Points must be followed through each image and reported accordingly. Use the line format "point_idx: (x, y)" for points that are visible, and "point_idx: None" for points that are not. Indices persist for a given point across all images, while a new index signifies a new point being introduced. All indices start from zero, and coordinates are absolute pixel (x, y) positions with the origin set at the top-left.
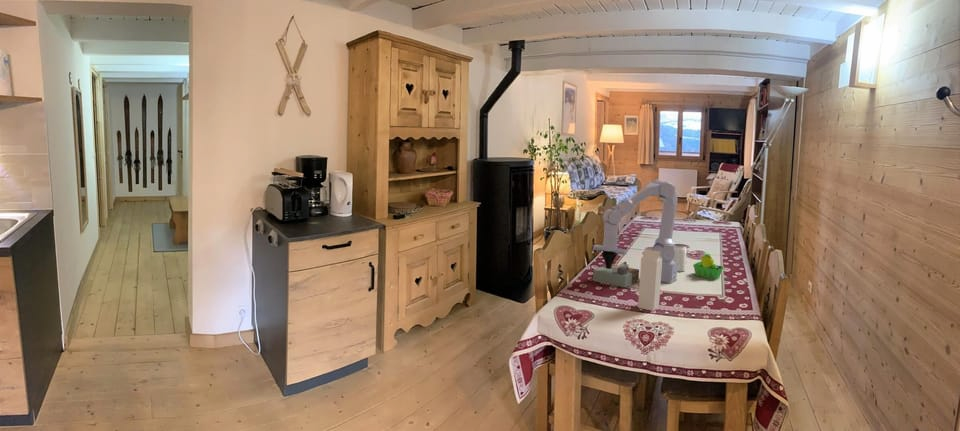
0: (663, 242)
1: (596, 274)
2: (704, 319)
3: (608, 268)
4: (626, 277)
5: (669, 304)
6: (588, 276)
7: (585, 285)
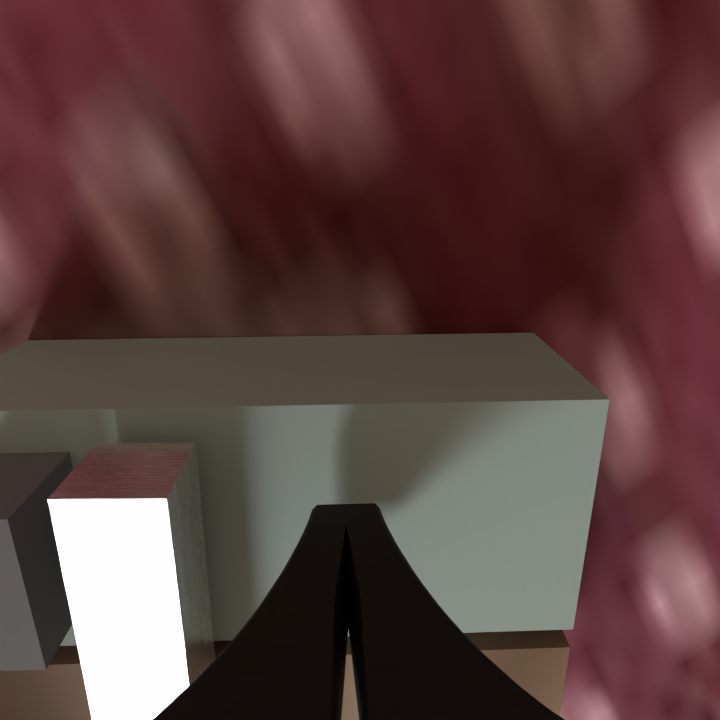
0: None
1: (515, 371)
2: None
3: (325, 508)
4: None
5: None
6: (658, 468)
7: (536, 26)
